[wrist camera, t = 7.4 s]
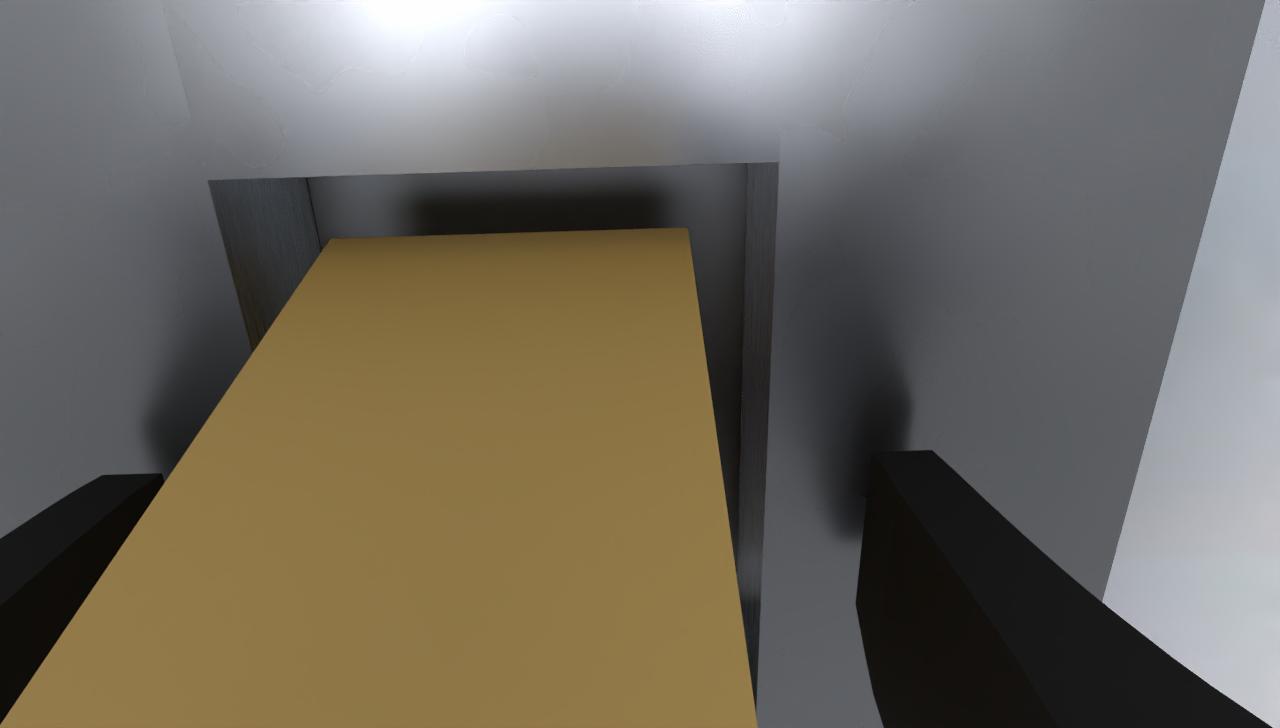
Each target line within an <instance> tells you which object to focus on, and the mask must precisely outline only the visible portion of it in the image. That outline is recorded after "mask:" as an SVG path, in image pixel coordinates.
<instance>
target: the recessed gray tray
mask: <svg viewBox="0 0 1280 728" xmlns="http://www.w3.org/2000/svg"><path fill="white" fill-rule="evenodd" d="M1264 3H1265V0H0V538H2V537H3V536H5V535H6V534H8V533H9V532H11V531H13V530H14V529H16V528H17V527H19V526H20V525H22V524H23V523H25V522H26V521H28V520H29V519H31V518H32V517H34V516H35V515H37V514H38V513H40V512H41V511H43V510H45V509H46V508H48V507H49V506H51V505H52V504H54V503H56V502H57V501H59V500H60V499H62V498H63V497H65V496H67V495H68V494H70V493H72V492H73V491H75V490H77V489H78V488H80V487H82V486H83V485H85V484H87V483H89V482H91V481H92V480H94V479H96V478H98V477H100V476H101V475H114V474H148V473H162V475H163V478H164V481H165V482H166V480H167V479H168V477H169V476H170V474H171V473H172V471H173V470H174V468H175V467H176V465H177V464H178V462H179V461H180V460H181V458H182V457H183V455H184V454H185V452H186V451H187V449H188V448H189V446H190V445H191V443H192V442H193V440H194V439H195V437H196V436H197V434H198V433H199V432H200V430H201V429H202V427H203V426H204V424H205V423H206V421H207V420H208V418H209V417H210V415H211V414H212V412H213V411H214V409H215V408H216V407H217V405H218V404H219V402H220V401H221V399H222V398H223V396H224V395H225V393H226V392H227V390H228V389H229V387H230V386H231V384H232V383H233V381H234V380H235V379H236V377H237V376H238V374H239V373H240V371H241V370H242V368H243V367H244V365H245V364H246V362H247V361H248V359H249V358H250V356H251V355H252V353H253V352H254V351H255V349H256V348H257V346H258V345H259V343H260V342H261V340H262V339H263V337H264V336H265V334H266V333H267V331H268V330H269V328H270V327H271V325H272V324H273V323H274V321H275V320H276V318H277V317H278V315H279V314H280V312H281V311H282V309H283V308H284V306H285V305H286V303H287V302H288V300H289V299H290V298H291V296H292V295H293V293H294V292H295V290H296V289H297V287H298V286H299V284H300V283H301V281H302V280H303V278H304V277H305V275H306V274H307V272H308V271H309V270H310V268H311V267H312V265H313V264H314V262H315V261H316V259H317V258H318V256H319V255H320V253H321V250H320V245H319V240H318V235H317V230H316V225H315V220H314V216H313V211H312V206H311V201H310V196H309V191H308V186H307V182H306V177H320V176H352V175H383V174H414V173H446V172H477V171H509V170H540V169H572V168H603V167H634V166H666V165H697V164H729V163H748V164H747V204H746V243H745V283H744V322H743V361H742V401H741V440H740V480H739V519H738V558H737V583H738V590H739V597H740V604H741V611H742V619H743V626H744V633H745V640H746V647H747V654H748V661H749V669H750V676H751V683H752V690H753V697H754V704H755V711H756V719H757V726H758V728H884V727H883V724H882V721H881V718H880V714H879V711H878V708H877V705H876V702H875V698H874V695H873V691H872V686H871V681H870V677H869V672H868V667H867V662H866V657H865V652H864V647H863V642H862V636H861V631H860V626H859V620H858V615H857V610H856V604H855V603H856V593H857V584H858V574H859V565H860V555H861V546H862V536H863V527H864V517H865V508H866V499H867V489H868V480H869V470H870V461H871V452H880V451H913V450H933V451H934V452H935V453H936V454H937V455H938V456H939V457H940V458H942V459H943V460H944V461H945V462H946V463H947V464H948V465H949V466H950V467H951V468H952V469H954V470H955V471H956V472H957V473H958V474H959V475H960V476H961V477H962V478H963V479H964V480H965V481H966V482H967V483H968V484H969V485H971V486H972V487H973V488H974V489H975V490H976V491H977V492H978V493H979V494H980V495H981V496H982V497H983V498H984V499H985V500H987V501H988V502H989V503H990V504H991V505H992V506H993V507H994V508H995V509H996V510H997V511H998V512H999V513H1001V514H1002V515H1003V516H1004V517H1005V518H1006V519H1007V520H1008V521H1009V522H1010V523H1011V524H1012V525H1014V526H1015V527H1016V528H1017V529H1018V530H1019V531H1020V532H1021V533H1022V534H1023V535H1025V536H1026V537H1027V538H1028V539H1029V540H1030V541H1031V542H1032V543H1033V544H1035V545H1036V546H1037V547H1038V548H1039V549H1040V550H1041V551H1042V552H1044V553H1045V554H1046V555H1047V556H1048V557H1049V558H1050V559H1052V560H1053V561H1054V562H1055V563H1056V564H1057V565H1058V566H1060V567H1061V568H1062V569H1063V570H1064V571H1065V572H1067V573H1068V574H1069V575H1070V576H1071V577H1072V578H1074V579H1075V580H1076V581H1077V582H1078V583H1079V584H1081V585H1082V586H1083V587H1084V588H1085V589H1087V590H1088V591H1089V592H1090V593H1091V594H1093V595H1094V596H1095V597H1096V598H1097V599H1099V600H1100V601H1101V602H1102V600H1103V596H1104V592H1105V589H1106V585H1107V581H1108V577H1109V574H1110V570H1111V566H1112V563H1113V559H1114V555H1115V552H1116V548H1117V544H1118V541H1119V537H1120V533H1121V530H1122V526H1123V522H1124V519H1125V515H1126V511H1127V507H1128V504H1129V500H1130V496H1131V493H1132V489H1133V485H1134V482H1135V478H1136V474H1137V471H1138V467H1139V463H1140V460H1141V456H1142V452H1143V449H1144V445H1145V441H1146V437H1147V434H1148V430H1149V426H1150V423H1151V419H1152V415H1153V412H1154V408H1155V404H1156V401H1157V397H1158V393H1159V390H1160V386H1161V382H1162V378H1163V375H1164V371H1165V367H1166V364H1167V360H1168V356H1169V353H1170V349H1171V345H1172V342H1173V338H1174V334H1175V331H1176V327H1177V323H1178V320H1179V316H1180V312H1181V308H1182V305H1183V301H1184V297H1185V294H1186V290H1187V286H1188V283H1189V279H1190V275H1191V272H1192V268H1193V264H1194V261H1195V257H1196V253H1197V249H1198V246H1199V242H1200V238H1201V235H1202V231H1203V227H1204V224H1205V220H1206V216H1207V213H1208V209H1209V205H1210V202H1211V198H1212V194H1213V191H1214V187H1215V183H1216V179H1217V176H1218V172H1219V168H1220V165H1221V161H1222V157H1223V154H1224V150H1225V146H1226V143H1227V139H1228V135H1229V132H1230V128H1231V124H1232V121H1233V117H1234V113H1235V109H1236V106H1237V102H1238V98H1239V95H1240V91H1241V87H1242V84H1243V80H1244V76H1245V73H1246V69H1247V65H1248V62H1249V58H1250V54H1251V50H1252V47H1253V43H1254V39H1255V36H1256V32H1257V28H1258V25H1259V21H1260V17H1261V14H1262V10H1263V6H1264Z"/></svg>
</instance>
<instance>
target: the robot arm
mask: <svg viewBox="0 0 1280 728" xmlns="http://www.w3.org/2000/svg"><path fill="white" fill-rule="evenodd" d="M164 483H165V481H164V478H163V475H162V473H148V474H114V475H101V476H100V477H98V478H96V479H94V480H92V481H91V482H89V483H87V484H85V485H83V486H82V487H80V488H78V489H77V490H75V491H73V492H72V493H70V494H68V495H67V496H65V497H63V498H62V499H60V500H59V501H57V502H56V503H54V504H52V505H51V506H49V507H48V508H46V509H45V510H43V511H41V512H40V513H38V514H37V515H35V516H34V517H32V518H31V519H29V520H28V521H26V522H25V523H23V524H22V525H20V526H19V527H17V528H16V529H14V530H13V531H11V532H9V533H8V534H6V535H5V536H3V537H2V538H0V725H1V723H2V722H3V720H4V719H5V717H6V716H7V714H8V713H9V711H10V710H11V708H12V707H13V706H14V704H15V703H16V701H17V700H18V698H19V697H20V695H21V694H22V692H23V691H24V689H25V688H26V686H27V685H28V683H29V682H30V680H31V679H32V678H33V676H34V675H35V673H36V672H37V670H38V669H39V667H40V666H41V664H42V663H43V661H44V660H45V658H46V657H47V655H48V654H49V652H50V651H51V650H52V648H53V647H54V645H55V644H56V642H57V641H58V639H59V638H60V636H61V635H62V633H63V632H64V630H65V629H66V627H67V626H68V625H69V623H70V622H71V620H72V619H73V617H74V616H75V614H76V613H77V611H78V610H79V608H80V607H81V605H82V604H83V602H84V601H85V599H86V598H87V597H88V595H89V594H90V592H91V591H92V589H93V588H94V586H95V585H96V583H97V582H98V580H99V579H100V577H101V576H102V574H103V573H104V571H105V570H106V569H107V567H108V566H109V564H110V563H111V561H112V560H113V558H114V557H115V555H116V554H117V552H118V551H119V549H120V548H121V546H122V545H123V543H124V542H125V541H126V539H127V538H128V536H129V535H130V533H131V532H132V530H133V529H134V527H135V526H136V524H137V523H138V521H139V520H140V518H141V517H142V516H143V514H144V513H145V511H146V510H147V508H148V507H149V505H150V504H151V502H152V501H153V499H154V498H155V496H156V495H157V493H158V492H159V490H160V489H161V488H162V486H163V485H164ZM855 604H856V610H857V615H858V620H859V626H860V631H861V636H862V642H863V647H864V652H865V657H866V662H867V667H868V672H869V677H870V681H871V686H872V691H873V695H874V698H875V702H876V705H877V708H878V711H879V714H880V718H881V721H882V724H883V727H884V728H1272V727H1271V726H1270V725H1268V724H1267V723H1265V722H1264V721H1262V720H1261V719H1259V718H1258V717H1256V716H1255V715H1253V714H1252V713H1250V712H1249V711H1247V710H1246V709H1245V708H1243V707H1242V706H1240V705H1239V704H1237V703H1236V702H1234V701H1233V700H1231V699H1230V698H1228V697H1227V696H1225V695H1224V694H1222V693H1221V692H1219V691H1218V690H1217V689H1215V688H1214V687H1212V686H1211V685H1209V684H1208V683H1207V682H1205V681H1204V680H1202V679H1201V678H1200V677H1198V676H1197V675H1195V674H1194V673H1193V672H1191V671H1190V670H1189V669H1187V668H1186V667H1184V666H1183V665H1182V664H1180V663H1179V662H1178V661H1176V660H1175V659H1174V658H1172V657H1171V656H1170V655H1168V654H1167V653H1166V652H1165V651H1163V650H1162V649H1161V648H1159V647H1158V646H1157V645H1156V644H1154V643H1153V642H1152V641H1150V640H1149V639H1148V638H1147V637H1145V636H1144V635H1143V634H1141V633H1140V632H1139V631H1138V630H1136V629H1135V628H1134V627H1132V626H1131V625H1130V624H1129V623H1127V622H1126V621H1125V620H1123V619H1122V618H1121V617H1120V616H1118V615H1117V614H1116V613H1114V612H1113V611H1112V610H1111V609H1110V608H1108V607H1107V606H1106V605H1105V604H1104V603H1102V602H1101V601H1100V600H1099V599H1097V598H1096V597H1095V596H1094V595H1093V594H1091V593H1090V592H1089V591H1088V590H1087V589H1085V588H1084V587H1083V586H1082V585H1081V584H1079V583H1078V582H1077V581H1076V580H1075V579H1074V578H1072V577H1071V576H1070V575H1069V574H1068V573H1067V572H1065V571H1064V570H1063V569H1062V568H1061V567H1060V566H1058V565H1057V564H1056V563H1055V562H1054V561H1053V560H1052V559H1050V558H1049V557H1048V556H1047V555H1046V554H1045V553H1044V552H1042V551H1041V550H1040V549H1039V548H1038V547H1037V546H1036V545H1035V544H1033V543H1032V542H1031V541H1030V540H1029V539H1028V538H1027V537H1026V536H1025V535H1023V534H1022V533H1021V532H1020V531H1019V530H1018V529H1017V528H1016V527H1015V526H1014V525H1012V524H1011V523H1010V522H1009V521H1008V520H1007V519H1006V518H1005V517H1004V516H1003V515H1002V514H1001V513H999V512H998V511H997V510H996V509H995V508H994V507H993V506H992V505H991V504H990V503H989V502H988V501H987V500H985V499H984V498H983V497H982V496H981V495H980V494H979V493H978V492H977V491H976V490H975V489H974V488H973V487H972V486H971V485H969V484H968V483H967V482H966V481H965V480H964V479H963V478H962V477H961V476H960V475H959V474H958V473H957V472H956V471H955V470H954V469H952V468H951V467H950V466H949V465H948V464H947V463H946V462H945V461H944V460H943V459H942V458H940V457H939V456H938V455H937V454H936V453H935V452H934V451H933V450H913V451H880V452H871V461H870V470H869V480H868V489H867V499H866V508H865V517H864V527H863V536H862V546H861V555H860V565H859V574H858V584H857V593H856V603H855Z"/></svg>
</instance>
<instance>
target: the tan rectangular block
mask: <svg viewBox="0 0 1280 728" xmlns="http://www.w3.org/2000/svg"><path fill="white" fill-rule="evenodd" d="M0 728H758V726H757V719H756V711H755V704H754V697H753V690H752V683H751V676H750V669H749V661H748V654H747V647H746V640H745V633H744V626H743V619H742V611H741V604H740V597H739V590H738V583H737V576H736V568H735V561H734V554H733V547H732V540H731V533H730V526H729V518H728V511H727V504H726V497H725V490H724V483H723V476H722V468H721V461H720V454H719V447H718V440H717V433H716V425H715V418H714V411H713V404H712V397H711V390H710V383H709V375H708V368H707V361H706V354H705V347H704V340H703V333H702V325H701V318H700V311H699V304H698V297H697V290H696V282H695V275H694V268H693V261H692V254H691V247H690V240H689V232H688V227H686V228H654V229H622V230H590V231H558V232H527V233H495V234H463V235H431V236H399V237H368V238H336V239H330V240H329V242H328V243H327V244H326V246H325V247H324V249H323V250H322V252H321V253H320V255H319V256H318V258H317V259H316V261H315V262H314V264H313V265H312V267H311V268H310V270H309V271H308V272H307V274H306V275H305V277H304V278H303V280H302V281H301V283H300V284H299V286H298V287H297V289H296V290H295V292H294V293H293V295H292V296H291V298H290V299H289V300H288V302H287V303H286V305H285V306H284V308H283V309H282V311H281V312H280V314H279V315H278V317H277V318H276V320H275V321H274V323H273V324H272V325H271V327H270V328H269V330H268V331H267V333H266V334H265V336H264V337H263V339H262V340H261V342H260V343H259V345H258V346H257V348H256V349H255V351H254V352H253V353H252V355H251V356H250V358H249V359H248V361H247V362H246V364H245V365H244V367H243V368H242V370H241V371H240V373H239V374H238V376H237V377H236V379H235V380H234V381H233V383H232V384H231V386H230V387H229V389H228V390H227V392H226V393H225V395H224V396H223V398H222V399H221V401H220V402H219V404H218V405H217V407H216V408H215V409H214V411H213V412H212V414H211V415H210V417H209V418H208V420H207V421H206V423H205V424H204V426H203V427H202V429H201V430H200V432H199V433H198V434H197V436H196V437H195V439H194V440H193V442H192V443H191V445H190V446H189V448H188V449H187V451H186V452H185V454H184V455H183V457H182V458H181V460H180V461H179V462H178V464H177V465H176V467H175V468H174V470H173V471H172V473H171V474H170V476H169V477H168V479H167V480H166V482H165V483H164V485H163V486H162V488H161V489H160V490H159V492H158V493H157V495H156V496H155V498H154V499H153V501H152V502H151V504H150V505H149V507H148V508H147V510H146V511H145V513H144V514H143V516H142V517H141V518H140V520H139V521H138V523H137V524H136V526H135V527H134V529H133V530H132V532H131V533H130V535H129V536H128V538H127V539H126V541H125V542H124V543H123V545H122V546H121V548H120V549H119V551H118V552H117V554H116V555H115V557H114V558H113V560H112V561H111V563H110V564H109V566H108V567H107V569H106V570H105V571H104V573H103V574H102V576H101V577H100V579H99V580H98V582H97V583H96V585H95V586H94V588H93V589H92V591H91V592H90V594H89V595H88V597H87V598H86V599H85V601H84V602H83V604H82V605H81V607H80V608H79V610H78V611H77V613H76V614H75V616H74V617H73V619H72V620H71V622H70V623H69V625H68V626H67V627H66V629H65V630H64V632H63V633H62V635H61V636H60V638H59V639H58V641H57V642H56V644H55V645H54V647H53V648H52V650H51V651H50V652H49V654H48V655H47V657H46V658H45V660H44V661H43V663H42V664H41V666H40V667H39V669H38V670H37V672H36V673H35V675H34V676H33V678H32V679H31V680H30V682H29V683H28V685H27V686H26V688H25V689H24V691H23V692H22V694H21V695H20V697H19V698H18V700H17V701H16V703H15V704H14V706H13V707H12V708H11V710H10V711H9V713H8V714H7V716H6V717H5V719H4V720H3V722H2V723H1V725H0Z"/></svg>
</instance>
